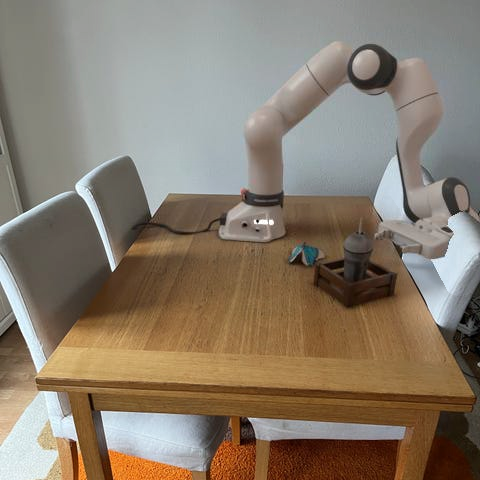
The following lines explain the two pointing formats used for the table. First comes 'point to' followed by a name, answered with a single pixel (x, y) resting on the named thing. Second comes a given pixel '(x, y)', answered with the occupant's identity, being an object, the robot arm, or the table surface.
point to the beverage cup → (357, 255)
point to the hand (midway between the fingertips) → (388, 243)
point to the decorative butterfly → (307, 254)
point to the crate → (381, 282)
